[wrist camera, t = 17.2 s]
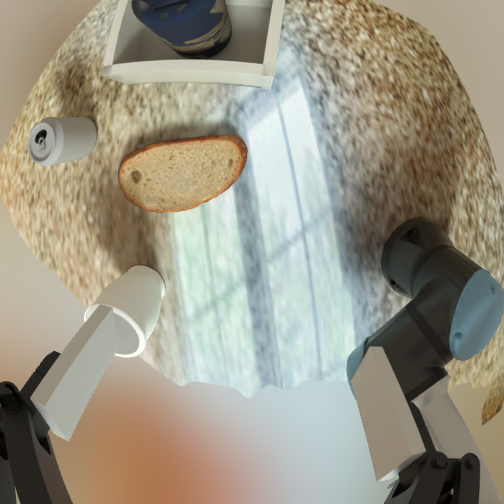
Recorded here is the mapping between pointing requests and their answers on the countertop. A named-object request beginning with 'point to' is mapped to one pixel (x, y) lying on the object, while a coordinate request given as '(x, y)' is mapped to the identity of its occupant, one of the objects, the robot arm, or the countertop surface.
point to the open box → (206, 70)
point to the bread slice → (181, 172)
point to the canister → (187, 25)
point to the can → (61, 140)
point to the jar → (133, 307)
